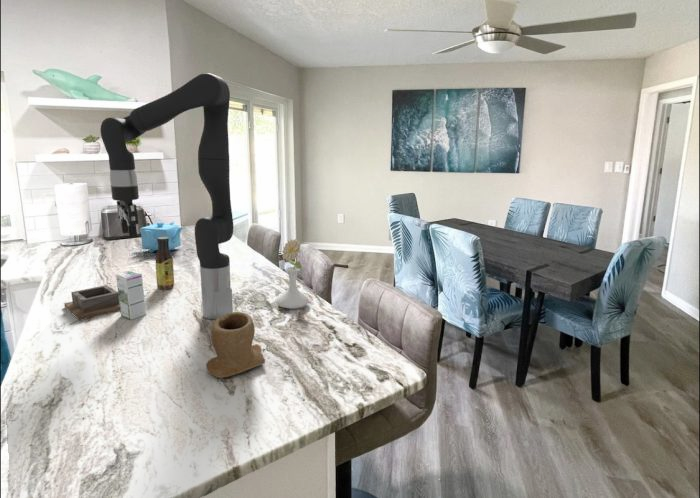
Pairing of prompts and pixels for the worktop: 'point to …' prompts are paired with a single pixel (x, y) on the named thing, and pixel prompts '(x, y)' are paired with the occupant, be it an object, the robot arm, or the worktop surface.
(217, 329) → the stone cup
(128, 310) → the syrup box
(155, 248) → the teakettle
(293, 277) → the flower in vase
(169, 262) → the sauce bottle
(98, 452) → the worktop surface
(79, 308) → the socket holder
